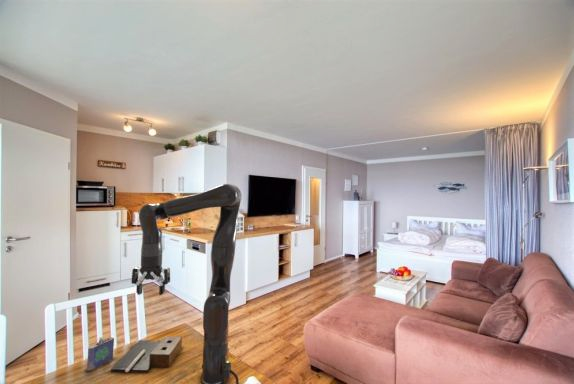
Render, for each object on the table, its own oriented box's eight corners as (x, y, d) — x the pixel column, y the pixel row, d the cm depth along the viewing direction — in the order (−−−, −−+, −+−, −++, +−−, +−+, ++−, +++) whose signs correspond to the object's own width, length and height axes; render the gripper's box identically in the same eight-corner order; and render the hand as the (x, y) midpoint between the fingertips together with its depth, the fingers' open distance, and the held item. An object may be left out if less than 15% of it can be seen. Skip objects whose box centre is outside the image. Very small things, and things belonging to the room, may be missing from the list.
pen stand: (181, 348, 116) (181, 337, 116) (168, 367, 103) (169, 354, 103) (163, 347, 116) (164, 336, 116) (149, 366, 103) (149, 354, 103)
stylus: (146, 348, 111) (128, 369, 97) (146, 352, 111) (127, 373, 97) (143, 348, 111) (124, 369, 97) (142, 351, 111) (124, 373, 97)
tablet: (169, 343, 120) (169, 340, 120) (146, 372, 100) (147, 369, 100) (139, 342, 119) (139, 340, 119) (110, 371, 99) (111, 369, 99)
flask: (88, 372, 99) (90, 344, 99) (85, 369, 100) (86, 342, 100) (114, 359, 107) (115, 333, 107) (110, 357, 108) (111, 331, 108)
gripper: (128, 255, 98) (127, 297, 98) (165, 256, 98) (164, 298, 98) (139, 251, 105) (138, 290, 105) (173, 251, 105) (172, 291, 105)
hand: (150, 294), depth 101 cm, fingers open, 8 cm apart
